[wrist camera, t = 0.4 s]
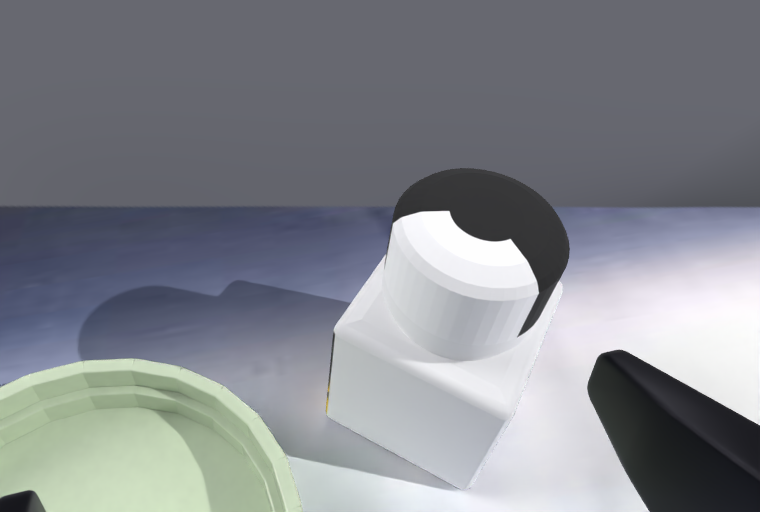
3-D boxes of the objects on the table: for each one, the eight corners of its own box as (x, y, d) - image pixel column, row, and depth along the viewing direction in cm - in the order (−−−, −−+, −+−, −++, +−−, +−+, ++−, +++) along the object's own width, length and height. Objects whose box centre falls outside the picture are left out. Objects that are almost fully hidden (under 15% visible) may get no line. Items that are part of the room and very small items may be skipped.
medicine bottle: (391, 309, 32) (432, 121, 23) (519, 370, 30) (615, 194, 21) (322, 417, 28) (338, 236, 19) (466, 496, 26) (561, 339, 17)
